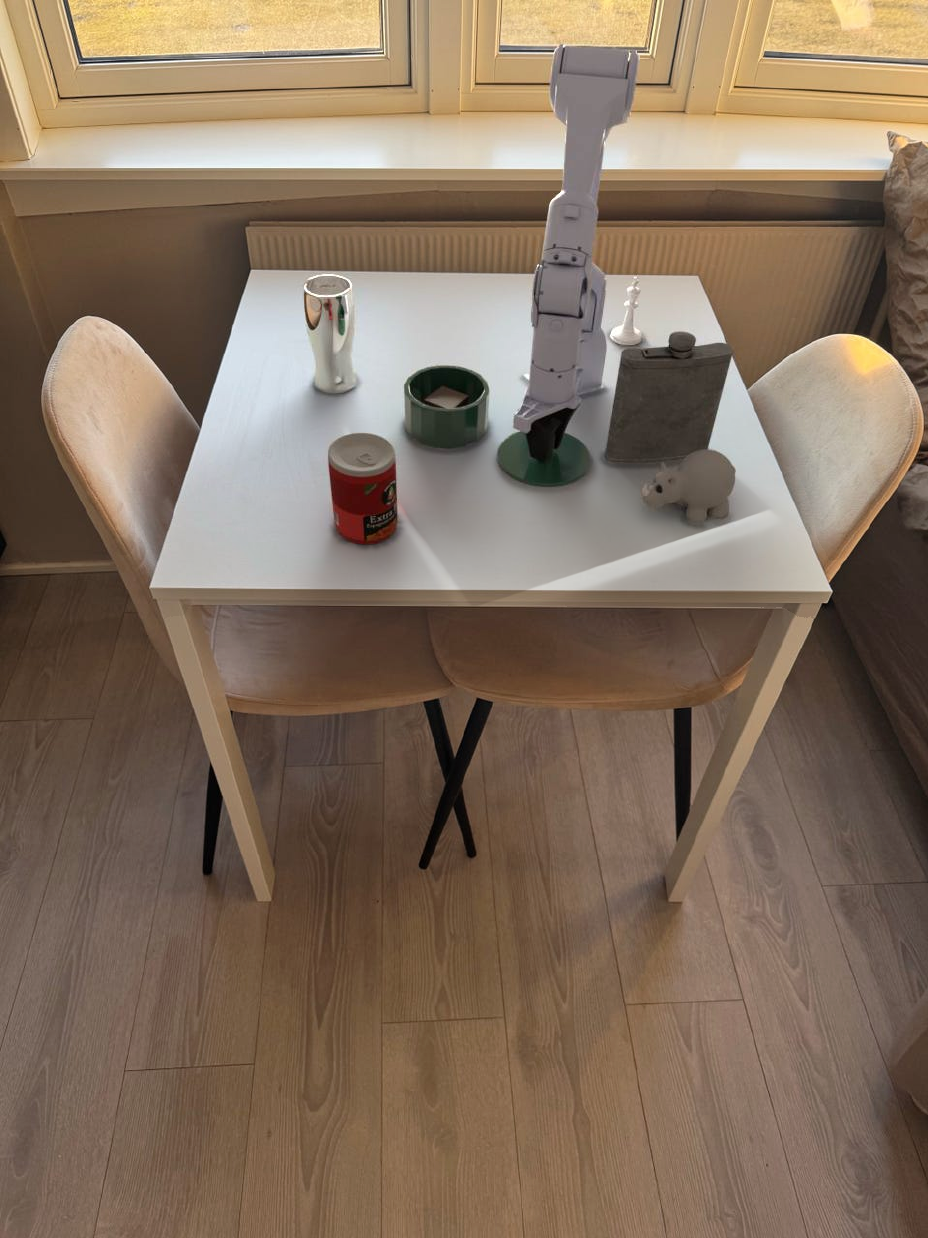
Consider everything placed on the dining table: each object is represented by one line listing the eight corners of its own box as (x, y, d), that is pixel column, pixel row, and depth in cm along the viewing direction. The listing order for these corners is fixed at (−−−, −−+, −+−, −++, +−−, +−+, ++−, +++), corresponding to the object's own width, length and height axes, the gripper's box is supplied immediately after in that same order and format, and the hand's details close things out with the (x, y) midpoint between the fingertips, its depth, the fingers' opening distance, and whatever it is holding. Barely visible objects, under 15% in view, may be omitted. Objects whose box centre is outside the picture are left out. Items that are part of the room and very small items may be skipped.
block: (442, 412, 131) (442, 385, 128) (467, 423, 129) (468, 395, 126) (423, 427, 128) (423, 399, 125) (450, 437, 127) (450, 410, 124)
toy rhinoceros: (624, 501, 119) (635, 446, 112) (710, 488, 121) (725, 434, 115) (646, 537, 114) (658, 482, 108) (735, 523, 116) (752, 468, 110)
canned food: (374, 554, 110) (370, 480, 102) (321, 530, 113) (312, 456, 105) (410, 520, 115) (409, 446, 107) (358, 497, 118) (353, 424, 110)
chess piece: (646, 335, 148) (657, 275, 141) (633, 348, 146) (643, 287, 138) (618, 326, 150) (628, 267, 143) (605, 339, 147) (614, 279, 140)
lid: (559, 426, 130) (563, 397, 127) (607, 475, 122) (612, 446, 119) (481, 447, 126) (482, 418, 123) (525, 500, 118) (527, 470, 115)
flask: (711, 461, 125) (743, 339, 112) (609, 469, 123) (629, 347, 110) (702, 445, 128) (732, 325, 115) (601, 453, 126) (621, 331, 113)
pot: (464, 397, 134) (465, 357, 130) (501, 439, 127) (504, 399, 123) (392, 415, 131) (390, 375, 126) (426, 460, 124) (425, 419, 119)
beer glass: (351, 398, 134) (344, 300, 123) (305, 392, 134) (294, 294, 124) (364, 373, 138) (359, 277, 128) (319, 367, 139) (310, 271, 128)
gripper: (552, 396, 107) (542, 490, 117) (610, 345, 116) (596, 436, 126) (501, 377, 110) (495, 470, 120) (561, 328, 119) (551, 418, 128)
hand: (544, 451), depth 123 cm, fingers open, 3 cm apart
